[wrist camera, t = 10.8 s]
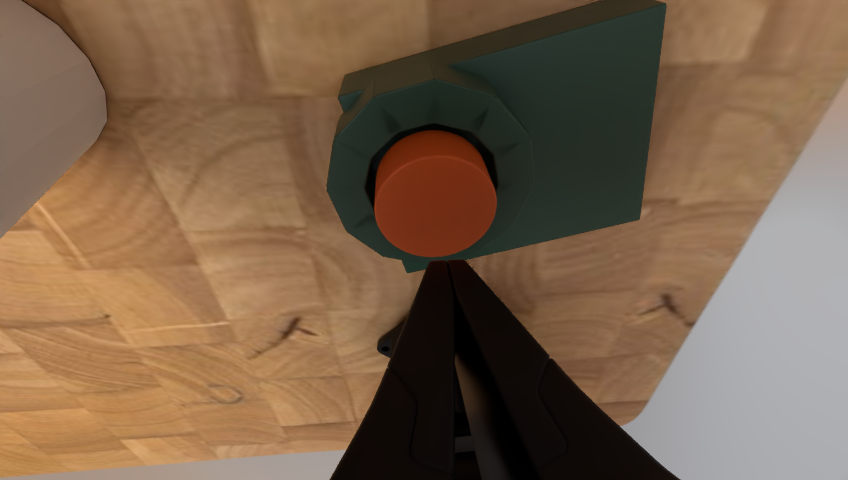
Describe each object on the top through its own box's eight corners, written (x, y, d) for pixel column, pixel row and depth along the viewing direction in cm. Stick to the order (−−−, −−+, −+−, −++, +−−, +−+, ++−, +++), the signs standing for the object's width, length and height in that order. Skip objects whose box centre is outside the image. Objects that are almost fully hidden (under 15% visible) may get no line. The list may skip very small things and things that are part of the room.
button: (476, 115, 12) (488, 140, 10) (492, 211, 14) (504, 243, 12) (360, 146, 12) (356, 174, 11) (394, 235, 14) (395, 268, 13)
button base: (630, -18, 13) (707, 2, 10) (615, 190, 18) (662, 246, 15) (313, 75, 14) (290, 119, 11) (384, 246, 19) (383, 309, 16)
